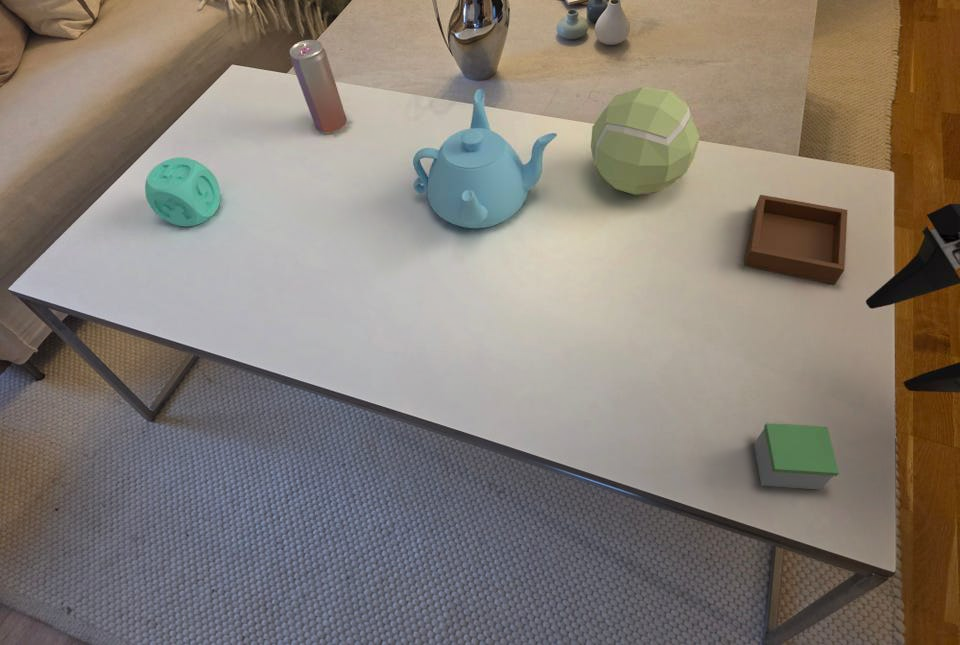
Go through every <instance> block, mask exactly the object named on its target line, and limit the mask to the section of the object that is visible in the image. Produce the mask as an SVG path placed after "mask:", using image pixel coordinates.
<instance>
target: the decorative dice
mask: <svg viewBox="0 0 960 645" xmlns="http://www.w3.org/2000/svg"><path fill="white" fill-rule="evenodd" d="M149 171H150V172H148V174H147V178H146V180H145V186H144V191H145V197H146V201H147V203H148V205H149V207H150V208H151V210H152V211H153V212H154V213H155V214H156V215H157V216H158V217H159V218H161V219H163V220H164V221H166V222H168V223H170V224H172V225H175V226H179V227H194V226H198V225H201V224H202V223H205V222H207V221H208V220H209V219H211V218H212V217H213V216H214V215H215V214H216V213H217V210H218V209H219V205H220V201H221V190H220V189H221V188H220V185H219V182H218V179H217V178H216V176H215V174H214V173H213V172H212V170H210V169H209V168H208V167H207V166H206V165H204V164H202V163H201V162H199V161H198V160H194V159H192V158H188V157H183V156H181V157H172V158H169V159H166V160H164V161H162V162H160V163H158V164H157V165H155V166H154V167H153V168H152V169H151V170H149Z"/></svg>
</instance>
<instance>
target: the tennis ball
mask: <svg viewBox="0 0 960 645" xmlns="http://www.w3.org/2000/svg"><path fill="white" fill-rule="evenodd" d="M591 128H592V129H591V137H590V138H591V140H590V150H591V156H592V161H593V163H594V165H595V167H596V169H597V171H598V173H599V175H600V176H601V177H602V178H603V179H604V180H605V181H606V182H607V183H608V184H609V185H611V187H613V188H614V189H615V190H618V191H621V192H623V193H624V192H625V193H628V194H632V195H634V196H639V195H645V194H646V195H647V194H653V193H658V192H660V191H662V190H664V189H666V188H668V187H670V186H672V185H673V184H674V183H676V181H678V180H679V179H680V178H681V177H683V176H684V175H685V174H686V173H688V170H689V169H690V166H691V164H692V163H693V160H694V159H695V156H696V152H697V148H698V144H699V140H700V134H699V130H698V129H697V126H696V123H695V121H694V118H693V114H692V110H691V107H690V106H689V105H688V103H687V102H686V101H684V99H682V98H681V97H679V95H677V94H676V93H674V92H673V91H672V90H668V89H664V88H659V87H654V86H642V87H639V88H635V89H633V90H629V91H628V90H627V91H625V92H621V93H618V94H616V95H615V96H614V97H613V98H612V99H611V101H610V102H609V103H608V105H607V106H606V107H605V108H604V110H603V111H601V114H599V116H598V118H597V119H596V121H595V122H594V123H593V124H592V127H591Z"/></svg>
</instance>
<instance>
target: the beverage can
mask: <svg viewBox="0 0 960 645" xmlns="http://www.w3.org/2000/svg"><path fill="white" fill-rule="evenodd" d="M289 55H290V62H291V64H292V68H293V71H294V72H295V75H296V78H297V81H298V84H299V86H300V89H301V91H302V95H303V97H304V101H305V102H306V105H307V108H308V111H309V114H310V117H311V119H312V122H313V124H314V128H315V129H316V130H317V131H318V132H319V133H322V134H325V135H326V134H327V135H330V134H331V135H332V134H335V133H339V132H341V130H343V129H344V128H345V126H346V125H347V124H346V123H347V116H346V112H345V109H344V105H343V102H342V99H341V95H340V93H339V90H338V87H337V86H338V85H337V83H336V80H335V77H334V73H333V71H332V68H331V64H330V61H329V58H328V54H327V51H326V49H325V48H324V46H323V43H322V42H321V41H319V40H316V39H306V40H305V39H304V40H301V41H299V42H296V43H294V44H293V45H292V46H291V47H290V49H289Z"/></svg>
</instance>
